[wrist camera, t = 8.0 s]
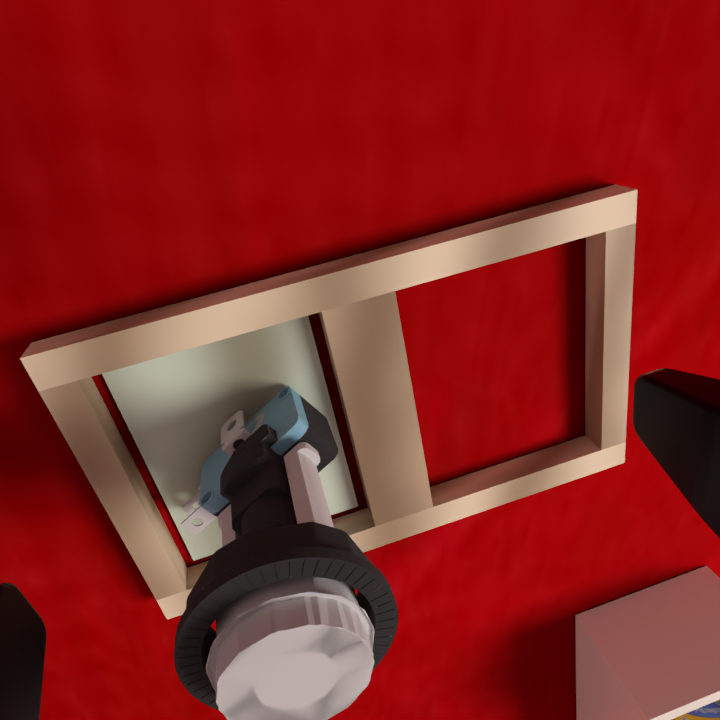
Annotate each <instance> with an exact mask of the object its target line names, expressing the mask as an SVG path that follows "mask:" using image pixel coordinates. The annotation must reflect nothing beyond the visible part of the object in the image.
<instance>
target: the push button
mask: <svg viewBox="0 0 720 720" xmlns="http://www.w3.org/2000/svg"><path fill="white" fill-rule="evenodd" d="M234 421H236V424H235V426H234V427H233V428H232V429H231V430H230V431H228V429H229V427H230V425H231V424H232V423H233V422H234ZM337 454H338V447H337V444H336V442H335V439H334V436H333V434H332V431H331V428H330V425H329V423H328V420H327V418H326V417H325V416H324V415H323V414H321V413H320V412H319V411H318V410H317V409H316V408H314V407H313V406H312V405H311V404H310V403H309V402H307V401H306V400H305V399H304V398H303V397H302V396H300V395H299V394H298V393H296V392H295V391H294V390H293V389H292V388H291V387H289V386H285V387H284V388H283V389H281V390H280V391H279V392H278V393H277V394H276V396H275V397H274V398H273V399H272V400H271V401H270V402H268V403H267V404H266V405H265V406H264V407H263V408H262V409H261V410H260V411H259V412H258V413H256V414H255V415H254V416H253V417H252V418H251V419H250V420H249V421H248V422H247V423H246V424H244V414H243V411H242V410H240V411H237V412H236V413H235V414H234V415H233V416H232V417H231V418H230V419H229V420H228V421H227V422H225V423H224V425H223V426H222V428H221V446H220V447H219V448H218V449H217V450H216V451H215V452H214V453H213V454H212V455H211V456H209V457H208V458H207V459H206V461H205V462H204V463H203V465H202V467H201V485H200V486H199V487H198V490H200V491H199V492H198V493H197V494H196V495H194V496H193V497H192V498H191V499H190V500H189V501H188V502H187V503H186V504H185V505H183V506H182V510H183V511H184V512H186V513H188V514H189V516H188V517H187V518H186V519H185V520H184V521H183V522H182V523H181V527H183V528H184V529H186V530H188V531H189V532H191V533H193V534H194V535H195V534H199V533H200V532H201V531H202V530H203V529H204V528H205V527H206V526H207V525H209V524H210V523H211V522H212V521H213V520H214V519H215V518H216V517H217V518H218V527H219V528H220V529H221V530H222V548H220V549H218V550H217V551H216V552H215V553H214V554H213V555H212V557H211V559H210V560H209V562H208V564H207V565H206V567H205V569H204V570H203V572H202V574H201V575H200V577H199V579H198V580H197V582H196V584H195V585H194V587H193V589H192V590H191V592H190V594H189V595H188V598H187V601H186V609H185V611H184V613H183V615H182V616H181V619H180V621H179V624H178V627H177V631H176V637H175V650H174V661H175V668H176V672H177V674H178V677H179V679H180V681H181V682H182V684H183V685H184V687H185V688H186V689H187V690H188V691H189V693H190V694H192V695H193V696H194V697H195V698H196V699H198V700H199V701H201V702H203V703H204V704H206V705H208V706H210V707H212V708H215V709H218V710H219V711H221V712H222V713H223V714H224V715H225V717H226V718H227V719H228V720H327V719H329V718H330V717H332V716H334V715H335V714H337V713H339V712H341V711H342V710H344V709H346V708H347V707H349V706H350V705H351V704H352V702H353V701H354V700H355V699H356V698H357V697H358V696H359V695H360V693H361V692H362V691H363V690H364V689H365V688H366V687H367V686H368V683H369V682H370V678H371V673H372V670H373V669H374V668H375V667H376V666H377V665H378V663H379V662H380V661H381V660H382V658H383V657H384V656H385V654H386V653H387V651H388V649H389V648H390V646H391V644H392V642H393V639H394V636H395V633H396V629H397V624H398V609H397V605H396V601H395V598H394V596H393V593H392V590H391V588H390V585H389V583H388V581H387V580H386V578H385V577H384V575H383V574H382V573H381V572H380V571H379V570H378V569H377V568H376V567H375V566H374V565H373V564H372V563H371V562H370V561H369V559H368V558H367V557H366V556H365V554H364V553H363V552H362V551H361V550H360V548H359V547H358V546H357V545H356V543H355V542H354V541H353V540H352V539H351V537H350V536H349V535H348V534H347V533H346V532H345V531H343V530H340V529H337V528H334V525H333V522H332V519H331V515H330V512H329V508H328V505H327V501H326V498H325V494H324V491H323V487H322V484H321V480H320V477H319V474H318V473H319V472H320V471H321V470H322V469H324V468H325V467H326V466H327V465H328V464H329V463H330V462H332V461H333V460H334V459H335V457H336V456H337ZM195 502H198V503H197V505H198V506H199V507H198V508H197V509H195V508H193V506H192V505H193V503H195ZM195 518H201V519H202V520H203V523H202V524H200V525H194V524H193V523H192V520H193V519H195ZM354 588H355V589H357V590H358V594H357V596H356V593H355V590H354ZM215 619H216V631H214V630H213V629H212V627H211V624H212V623H213V622H214V620H215Z"/></svg>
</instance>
